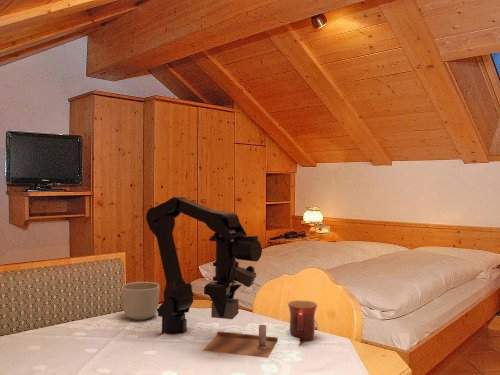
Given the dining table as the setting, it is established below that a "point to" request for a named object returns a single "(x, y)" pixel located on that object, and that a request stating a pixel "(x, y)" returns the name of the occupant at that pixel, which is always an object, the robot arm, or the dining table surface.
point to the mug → (302, 319)
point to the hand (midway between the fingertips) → (225, 313)
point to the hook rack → (243, 343)
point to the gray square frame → (227, 309)
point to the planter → (140, 300)
